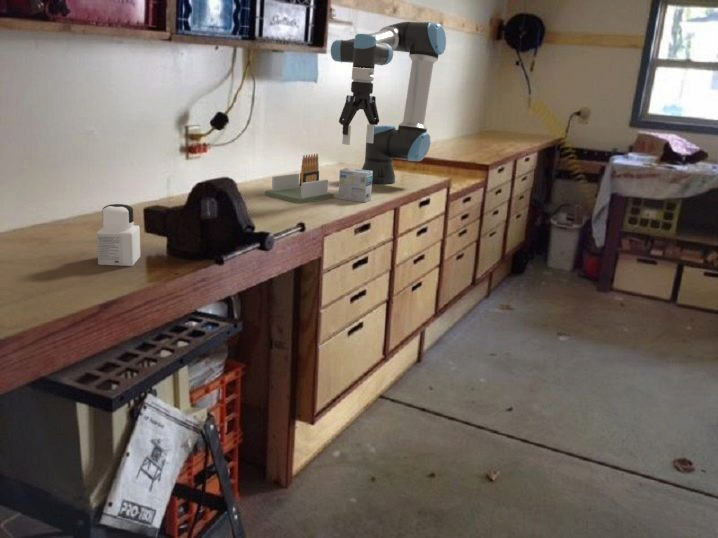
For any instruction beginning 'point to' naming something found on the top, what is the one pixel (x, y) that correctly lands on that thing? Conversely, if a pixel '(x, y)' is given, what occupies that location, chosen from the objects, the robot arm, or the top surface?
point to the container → (118, 237)
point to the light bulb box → (355, 185)
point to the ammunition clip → (309, 169)
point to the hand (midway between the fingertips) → (357, 143)
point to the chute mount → (298, 189)
